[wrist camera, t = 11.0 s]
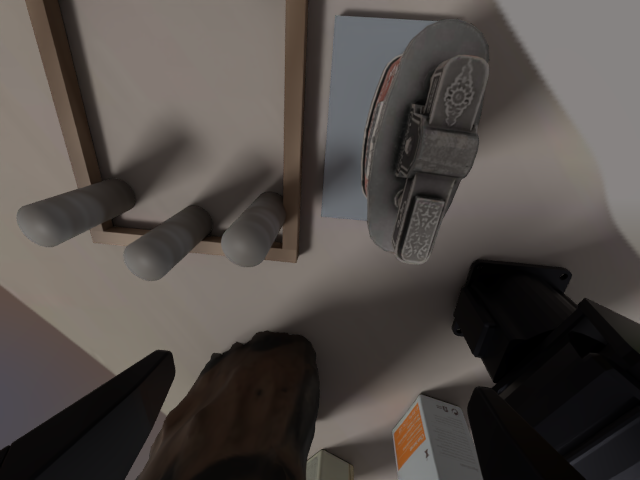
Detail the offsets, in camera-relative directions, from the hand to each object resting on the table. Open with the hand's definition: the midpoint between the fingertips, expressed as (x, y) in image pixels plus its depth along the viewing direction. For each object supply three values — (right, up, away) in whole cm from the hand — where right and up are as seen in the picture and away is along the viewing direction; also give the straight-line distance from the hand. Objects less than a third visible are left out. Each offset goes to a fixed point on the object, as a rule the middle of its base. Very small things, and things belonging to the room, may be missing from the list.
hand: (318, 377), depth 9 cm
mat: (+4, +11, +9) cm, 14 cm away
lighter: (+4, +10, +9) cm, 14 cm away
